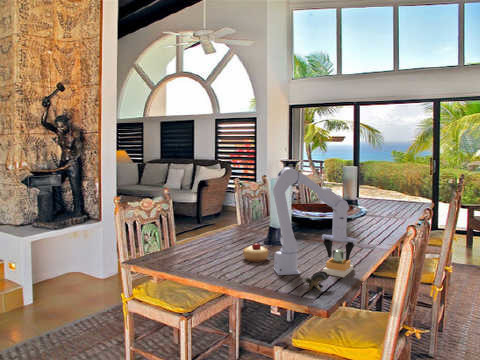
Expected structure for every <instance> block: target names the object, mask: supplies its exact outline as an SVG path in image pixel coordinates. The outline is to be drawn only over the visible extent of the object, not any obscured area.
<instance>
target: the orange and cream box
mask: <svg viewBox="0 0 480 360" xmlns="http://www.w3.org/2000/svg"><path fill="white" fill-rule="evenodd" d="M325 263H326V264H325V267H323V268H322V271H324V272H326V273H327V274H328V276H333V277H334V276H335V277H338V278H346V276H347V275H349V273H351V272H352V271H353V270H354V264H351V259H349V260H348V261H347V260H346V258H344V264H338V263H333V257H330V259H328V260H327V261H326V262H325Z"/></svg>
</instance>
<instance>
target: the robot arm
mask: <svg viewBox="0 0 480 360" xmlns="http://www.w3.org/2000/svg"><path fill="white" fill-rule="evenodd" d="M295 183H296V184H301V185H304V186H305V187H307V188H309V190H311V191H313V192H314V193H316V194H317V199H318V200H320V202H323V203H324V204H326V205H327V206H329V207H330V208H331V209H332V227H331V228H332V230H331V231H332V232H331V234H322V235H321V240H323V245H324V247H325V249H326V252H327V257H328V258H330V259H331V258H332V257H333V249H332V247H333V242H337V243H338V242H339V243H344V244H345V243H346V244H345V259H346V260H347V261H348V260H350V258H351V257H350V256H351V253H352V251H353V249H354V247H355V245H357V244H358V239H357V238H353V237H349V236H347V226H348V225H347V222H348V211H349V210H350V206H349V204H348V201H347V200H346V199H343V197H342V196H341V195H340V194H337V193H335V191H334V192H333V191H332V190H333V189H332V188H331V187H327V186H324V187H322V186H320V185H319V184H318V183H316V182H315V181H314V180H312V179H311V178H309V177H308V176H307V175H305V174H303V173H301V171H298V170H296V169H294V168H292V167H290V166H285V167H282V169H281V170H280V171H279V172H278V173H277V176H276V179H275V181H274V184H273V187H272V192H273V197H274V203H275V207H276V213H277V218H278V222H279V227H280V228H279V229H280V240H279V241H280V244H281V248H280V250H278V251H275V252H274V256H273V257H274V258H273V259H274V260H273V261H274V262H273V270H274V271H275V273H276V274H277V276H284V275H301V272H300V271H299V270H298V249H299V241H298V240H296V238H295V234H294V230H293V228H292V227H293V226H292V223H291V216H290V212H289V206H288V202H287V197H286V196H287V195H286V192H287V190H288V189H289V187H290V186H292V185H294V184H295Z"/></svg>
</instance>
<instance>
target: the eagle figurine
mask: <svg viewBox="0 0 480 360" xmlns="http://www.w3.org/2000/svg"><path fill="white" fill-rule="evenodd" d="M328 278H329V274H327V273H326V272H324V271H323V270H322V271H317V272H316V273H313V274H312V275H311V278H309V277H308V276H305V277H303V278H302V282H303V283H306V284H305V286H306V287H308V292H310V291H312V290H313V287H315V288H317V289H318V290H319V291H321V287H322V286H323V285H322V284H320V282H323V281H326V280H328ZM320 286H321V287H320Z"/></svg>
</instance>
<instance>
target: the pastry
mask: <svg viewBox="0 0 480 360" xmlns="http://www.w3.org/2000/svg"><path fill="white" fill-rule="evenodd" d="M252 242H254V243H253V244H252V245H250V246H246V247H245V248H243V249H242V255H243V256H242V257H243V258H244V259H245V260H246V262H247V261H248V262H251V263H261V262H264V261H267V258H268V256H269V252H270V251H269V249H268V248H266V247H264V246H261V244H260V243H257V242H256V241H255V240H250V243H252Z"/></svg>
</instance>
